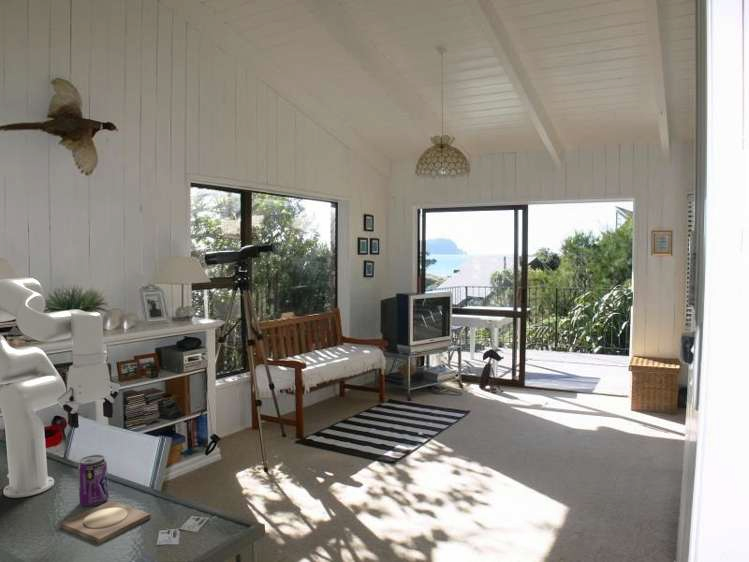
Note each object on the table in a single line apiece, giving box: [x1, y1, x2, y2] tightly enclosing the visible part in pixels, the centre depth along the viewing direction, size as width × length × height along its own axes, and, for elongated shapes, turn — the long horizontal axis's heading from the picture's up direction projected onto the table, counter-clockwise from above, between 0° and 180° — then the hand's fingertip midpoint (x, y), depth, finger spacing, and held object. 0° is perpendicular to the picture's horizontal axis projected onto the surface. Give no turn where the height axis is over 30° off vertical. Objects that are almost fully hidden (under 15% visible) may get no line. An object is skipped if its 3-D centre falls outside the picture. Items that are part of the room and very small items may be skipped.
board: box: [60, 500, 152, 545], centre depth 147 cm, size 16×14×2 cm
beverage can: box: [77, 454, 110, 507], centre depth 159 cm, size 7×7×12 cm
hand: (91, 421), depth 156 cm, fingers open, 9 cm apart
